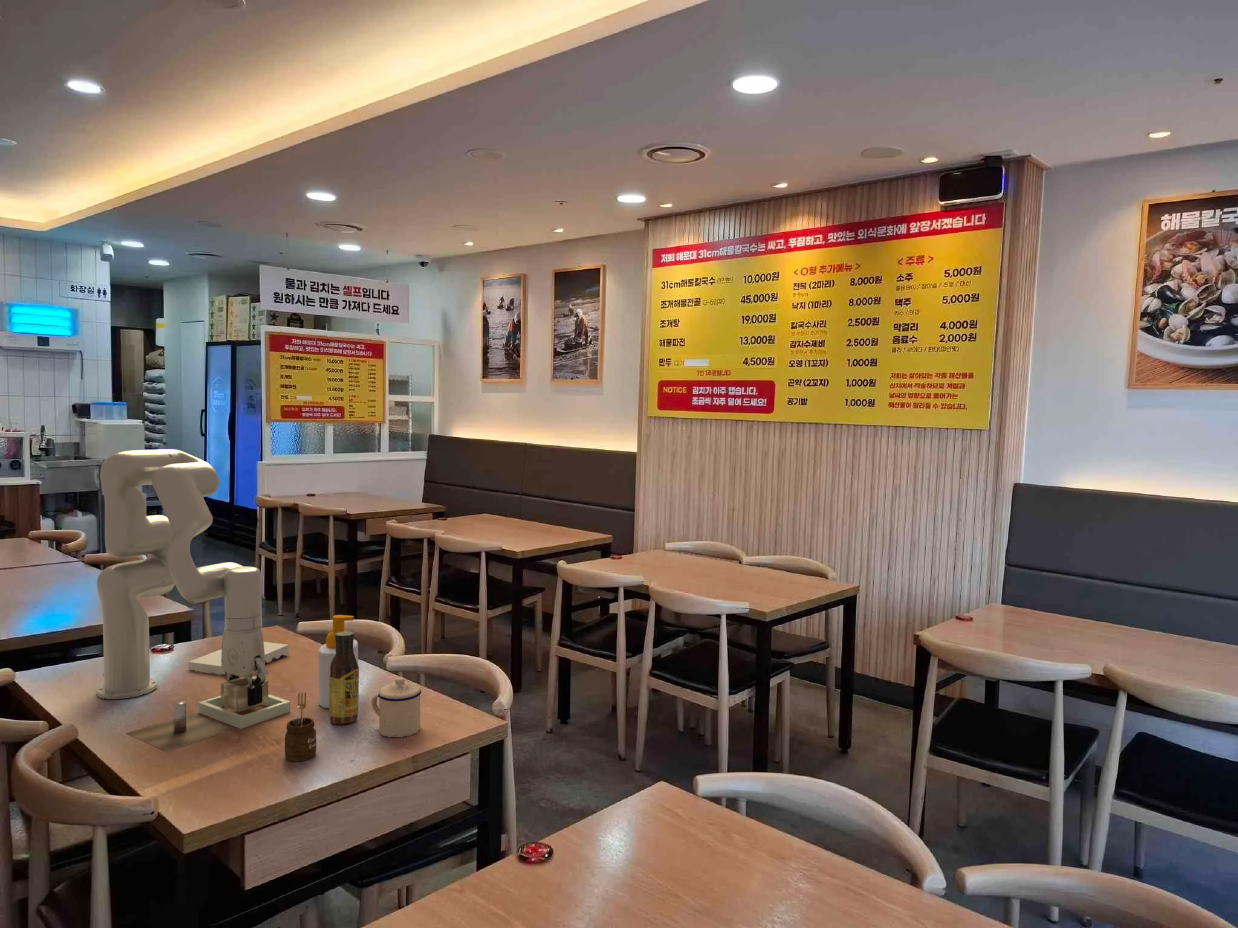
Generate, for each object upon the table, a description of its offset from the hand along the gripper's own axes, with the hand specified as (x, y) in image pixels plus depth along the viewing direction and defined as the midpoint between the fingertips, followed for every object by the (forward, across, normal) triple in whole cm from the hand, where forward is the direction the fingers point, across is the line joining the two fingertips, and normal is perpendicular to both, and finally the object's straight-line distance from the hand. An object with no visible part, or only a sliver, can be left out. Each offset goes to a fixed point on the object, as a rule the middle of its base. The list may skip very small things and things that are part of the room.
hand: (244, 699), depth 181 cm
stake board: (+4, -1, -14) cm, 15 cm away
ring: (+1, 0, 0) cm, 1 cm away
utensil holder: (+5, +27, -5) cm, 28 cm away
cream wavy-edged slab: (+5, -38, +22) cm, 44 cm away
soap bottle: (+5, +7, +20) cm, 22 cm away
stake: (+3, -1, -14) cm, 14 cm away
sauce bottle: (+5, +19, +12) cm, 23 cm away
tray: (+4, 0, 0) cm, 4 cm away
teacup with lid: (+5, +32, +15) cm, 35 cm away
